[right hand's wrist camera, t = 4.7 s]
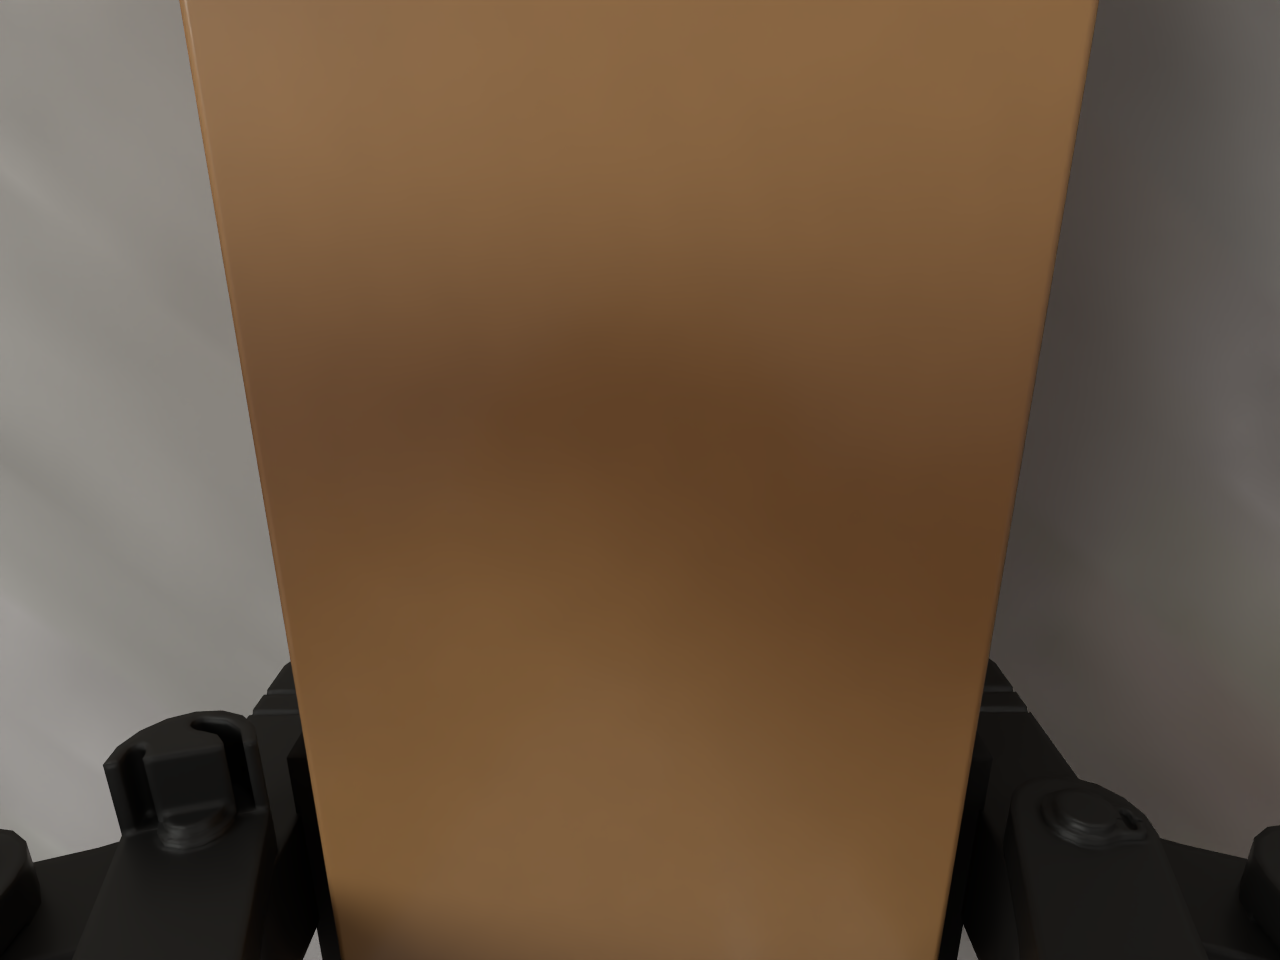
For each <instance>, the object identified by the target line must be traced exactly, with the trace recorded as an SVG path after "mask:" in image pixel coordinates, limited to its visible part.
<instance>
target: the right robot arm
mask: <svg viewBox="0 0 1280 960" xmlns="http://www.w3.org/2000/svg"><path fill="white" fill-rule="evenodd" d="M1012 688H1013V687H1012V686H1011V684H1010V683H1009V681H1008V680H1007V679H1006V677H1005V676H1004V674H1003V673H1002V672H1001V670H1000V669H999V667H998V666H997V665H996V663H995V662H993V661H992V660H990V659H988V665H987V671H986V677H985V683H984V689H983V695H982V701H981V707H980V713H979V718H978V724H977V730H976V736H975V742H974V748H973V754H972V760H971V766H970V772H969V778H968V784H967V790H966V796H965V802H964V808H963V814H962V820H961V826H960V832H959V838H958V844H957V850H956V856H955V861H954V867H953V873H952V879H951V885H950V891H949V897H948V903H947V909H946V915H945V921H944V927H943V933H942V939H941V945H940V951H939V957H938V960H957V956H958V951H959V945H960V939H961V934H962V928H963V925H964V927H965V929H966V932H967V934H968V936H969V939H970V941H971V943H972V946H973V948H974V951H975V953H976V955H977V958H978V960H1280V825H1279V826H1271V827H1267V828H1266V829H1264V830H1263V831H1262V832H1261V833H1260V834H1258V835H1257V836H1256V837H1255V838H1254V841H1253V844H1252V847H1251V850H1250V853H1249V856H1248V859H1244V858H1240V857H1236V856H1231V855H1227V854H1222V853H1218V852H1213V851H1209V850H1205V849H1200V848H1196V847H1191V846H1187V845H1182V844H1179V843H1175V842H1172V841H1169V840H1165V839H1162V838H1159V835H1158V833H1157V832H1156V830H1155V829H1154V827H1153V826H1152V825H1151V823H1150V822H1149V820H1148V819H1147V817H1146V816H1145V815H1144V814H1143V813H1142V812H1141V811H1139V810H1138V809H1137V808H1136V807H1135V806H1133V805H1132V804H1131V803H1130V802H1128V801H1127V800H1126V799H1125V798H1123V797H1121V796H1119V795H1117V794H1115V793H1113V792H1111V791H1109V790H1107V789H1105V788H1103V787H1101V786H1099V785H1097V784H1094V783H1090V782H1087V781H1083V780H1079V779H1078V778H1077V776H1076V775H1075V773H1074V772H1073V771H1072V769H1071V768H1070V766H1069V765H1068V764H1067V762H1066V761H1065V760H1064V758H1063V757H1062V755H1061V754H1060V753H1059V751H1058V750H1057V748H1056V747H1055V746H1054V744H1053V743H1052V741H1051V740H1050V739H1049V737H1048V736H1047V734H1046V733H1045V732H1044V730H1043V729H1042V727H1041V726H1040V725H1039V723H1038V722H1037V720H1036V719H1035V718H1034V716H1033V715H1032V714H1031V712H1027V707H1026V705H1025V704H1024V702H1023V701H1022V700H1021V698H1020V697H1019V695H1018V694H1017V693H1016V692H1013V689H1012ZM103 767H104V771H105V774H106V778H107V782H108V785H109V789H110V793H111V796H112V800H113V804H114V807H115V811H116V815H117V818H118V822H119V826H120V829H121V833H122V837H121V839H120V842H116V843H113V844H110V845H106V846H103V847H100V848H95V849H91V850H87V851H82V852H78V853H73V854H69V855H65V856H60V857H56V858H51V859H47V860H43V861H38V862H34V863H33V862H32V859H31V856H30V852H29V849H28V846H27V843H26V841H25V840H24V839H22V838H21V837H20V836H19V835H18V834H16V833H15V832H14V831H11V830H4V829H0V960H303V958H304V956H305V953H306V951H307V949H308V946H309V944H310V942H311V939H312V937H313V935H314V932H315V930H316V928H317V931H318V937H319V943H320V948H321V954H322V959H323V960H341V956H340V950H339V944H338V938H337V932H336V926H335V920H334V914H333V908H332V903H331V897H330V891H329V885H328V879H327V873H326V867H325V861H324V855H323V849H322V843H321V837H320V831H319V825H318V819H317V814H316V808H315V802H314V796H313V790H312V784H311V778H310V772H309V766H308V760H307V754H306V748H305V742H304V736H303V731H302V725H301V719H300V713H299V707H298V701H297V695H296V689H295V683H294V677H293V671H292V665H291V662H289V663H288V664H286V665H285V666H284V667H283V669H282V670H281V671H280V673H279V674H278V676H277V677H276V678H275V680H274V681H273V683H272V684H271V685H270V687H269V688H268V690H267V695H263V697H262V698H261V699H260V701H259V702H258V704H257V705H256V707H255V708H254V709H253V715H249V716H248V718H247V719H246V718H245V717H244V716H243V715H239V714H235V713H230V712H226V711H201V712H193V713H189V714H185V715H181V716H176V717H172V718H168V719H166V720H163V721H161V722H159V723H157V724H154V725H152V726H150V727H148V728H145V729H143V730H141V731H139V732H138V733H136V734H135V735H133V736H132V737H131V738H129V739H128V740H126V741H125V742H123V743H122V744H121V745H119V746H118V747H117V748H116V749H115V750H114V752H113V753H112V754H111V755H110V757H109V758H108V759H107V760H106V762H105V763H104V764H103Z"/></svg>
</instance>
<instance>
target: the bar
mask: <svg viewBox="0 0 1280 960" xmlns="http://www.w3.org/2000/svg"><path fill="white" fill-rule="evenodd" d="M179 1H180V7H181V13H182V19H183V25H184V31H185V37H186V43H187V48H188V54H189V60H190V66H191V72H192V78H193V84H194V90H195V96H196V102H197V108H198V114H199V120H200V126H201V131H202V137H203V143H204V149H205V155H206V161H207V167H208V173H209V179H210V185H211V191H212V197H213V203H214V209H215V215H216V220H217V226H218V232H219V238H220V244H221V250H222V256H223V262H224V268H225V274H226V280H227V286H228V292H229V298H230V304H231V309H232V315H233V321H234V327H235V333H236V339H237V345H238V351H239V357H240V363H241V369H242V375H243V381H244V387H245V392H246V398H247V404H248V410H249V416H250V422H251V428H252V434H253V440H254V446H255V452H256V458H257V464H258V470H259V475H260V481H261V487H262V493H263V499H264V505H265V511H266V517H267V523H268V529H269V535H270V541H271V547H272V553H273V559H274V564H275V570H276V576H277V582H278V588H279V594H280V600H281V606H282V612H283V618H284V624H285V630H286V636H287V642H288V647H289V653H290V659H291V665H292V671H293V677H294V683H295V689H296V695H297V701H298V707H299V713H300V719H301V725H302V731H303V736H304V742H305V748H306V754H307V760H308V766H309V772H310V778H311V784H312V790H313V796H314V802H315V808H316V814H317V819H318V825H319V831H320V837H321V843H322V849H323V855H324V861H325V867H326V873H327V879H328V885H329V891H330V897H331V903H332V908H333V914H334V920H335V926H336V932H337V938H338V944H339V950H340V956H341V960H938V957H939V951H940V945H941V939H942V933H943V927H944V921H945V915H946V909H947V903H948V897H949V891H950V885H951V879H952V873H953V867H954V861H955V856H956V850H957V844H958V838H959V832H960V826H961V820H962V814H963V808H964V802H965V796H966V790H967V784H968V778H969V772H970V766H971V760H972V754H973V748H974V742H975V736H976V730H977V724H978V718H979V713H980V707H981V701H982V695H983V689H984V683H985V677H986V671H987V665H988V659H989V653H990V647H991V641H992V635H993V629H994V623H995V617H996V611H997V605H998V599H999V593H1000V587H1001V581H1002V575H1003V570H1004V564H1005V558H1006V552H1007V546H1008V540H1009V534H1010V528H1011V522H1012V516H1013V510H1014V504H1015V498H1016V492H1017V486H1018V480H1019V474H1020V468H1021V462H1022V456H1023V450H1024V444H1025V438H1026V432H1027V427H1028V421H1029V415H1030V409H1031V403H1032V397H1033V391H1034V385H1035V379H1036V373H1037V367H1038V361H1039V355H1040V349H1041V343H1042V337H1043V331H1044V325H1045V319H1046V313H1047V307H1048V301H1049V295H1050V290H1051V284H1052V278H1053V272H1054V266H1055V260H1056V254H1057V248H1058V242H1059V236H1060V230H1061V224H1062V218H1063V212H1064V206H1065V200H1066V194H1067V188H1068V182H1069V176H1070V170H1071V164H1072V158H1073V152H1074V147H1075V141H1076V135H1077V129H1078V123H1079V117H1080V111H1081V105H1082V99H1083V93H1084V87H1085V81H1086V75H1087V69H1088V63H1089V57H1090V51H1091V45H1092V39H1093V33H1094V27H1095V21H1096V15H1097V9H1098V4H1099V0H179Z"/></svg>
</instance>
